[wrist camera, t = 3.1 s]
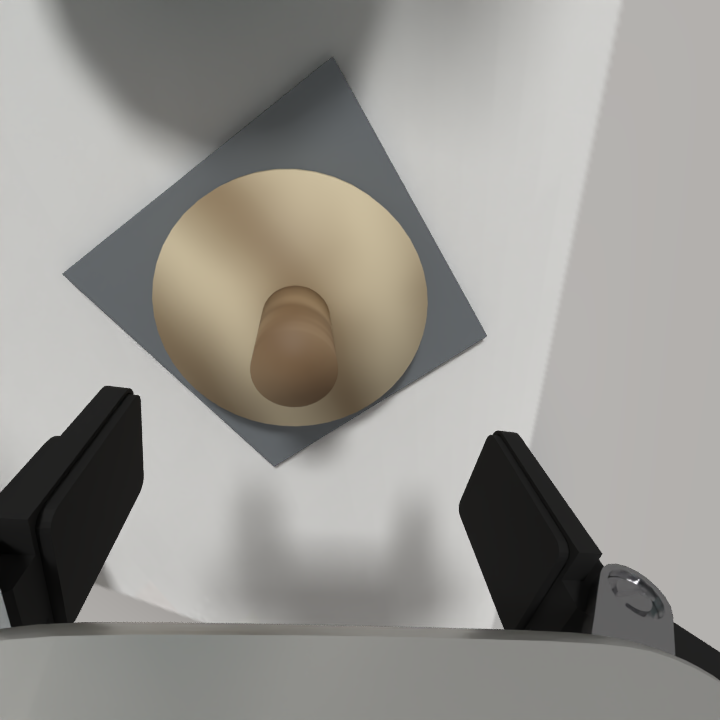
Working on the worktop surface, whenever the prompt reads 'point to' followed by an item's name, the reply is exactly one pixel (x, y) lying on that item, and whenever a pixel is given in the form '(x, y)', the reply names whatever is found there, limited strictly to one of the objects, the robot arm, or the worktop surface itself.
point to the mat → (265, 152)
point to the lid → (289, 297)
